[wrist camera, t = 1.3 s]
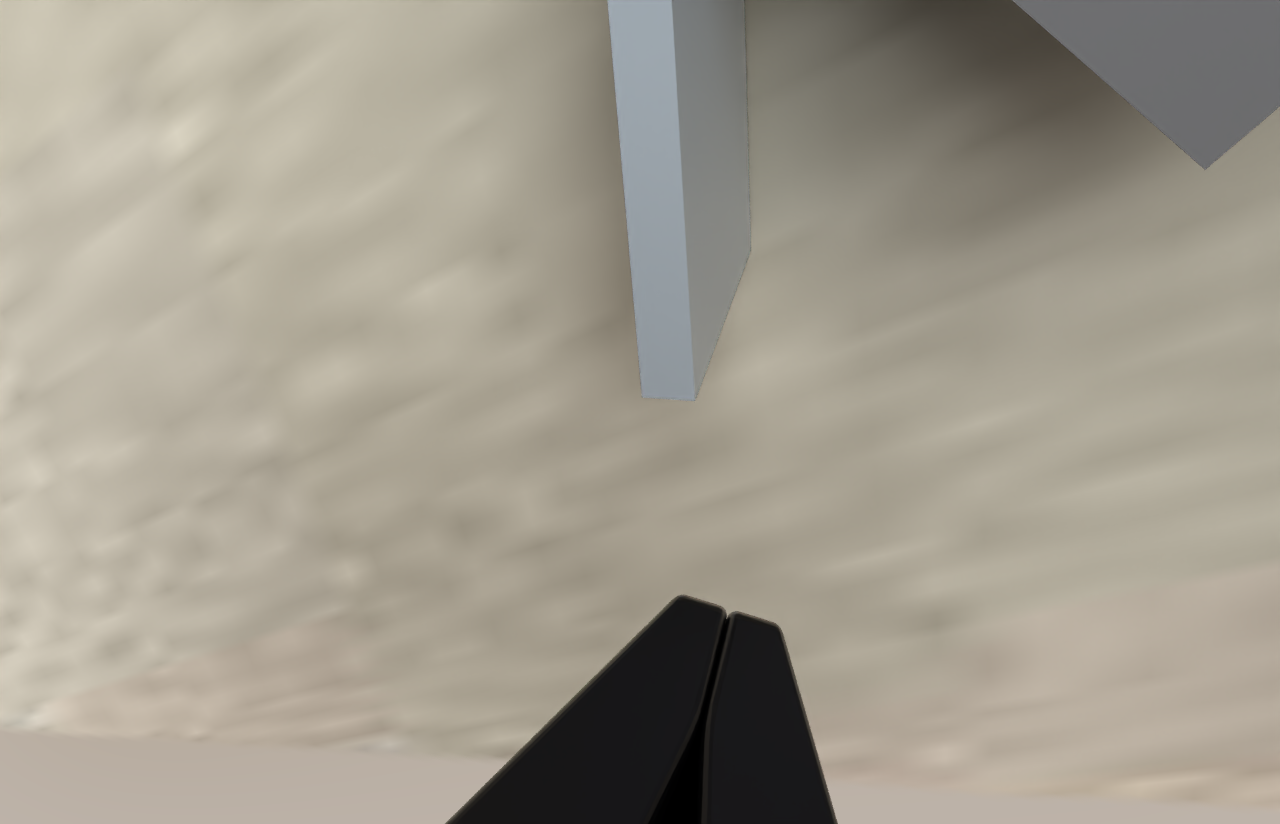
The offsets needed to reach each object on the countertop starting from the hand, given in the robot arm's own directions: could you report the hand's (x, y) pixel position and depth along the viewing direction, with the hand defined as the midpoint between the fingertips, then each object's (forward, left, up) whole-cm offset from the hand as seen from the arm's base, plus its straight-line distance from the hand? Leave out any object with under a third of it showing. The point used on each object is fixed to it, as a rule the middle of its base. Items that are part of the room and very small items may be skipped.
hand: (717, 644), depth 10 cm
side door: (0, -3, -13) cm, 13 cm away
